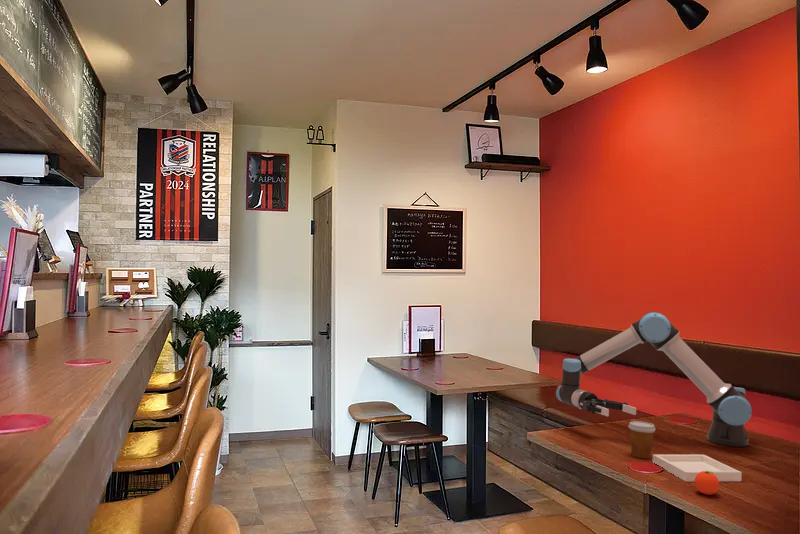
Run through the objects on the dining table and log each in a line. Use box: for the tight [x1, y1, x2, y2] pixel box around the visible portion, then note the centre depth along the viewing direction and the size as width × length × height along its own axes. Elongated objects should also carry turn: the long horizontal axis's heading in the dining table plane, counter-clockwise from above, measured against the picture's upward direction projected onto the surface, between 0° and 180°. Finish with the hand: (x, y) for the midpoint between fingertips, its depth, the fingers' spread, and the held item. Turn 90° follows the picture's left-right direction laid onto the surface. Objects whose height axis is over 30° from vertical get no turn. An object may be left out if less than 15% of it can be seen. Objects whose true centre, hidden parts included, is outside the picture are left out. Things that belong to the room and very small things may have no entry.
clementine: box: [694, 471, 720, 496], centre depth 194 cm, size 8×7×7 cm
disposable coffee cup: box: [628, 420, 657, 459], centre depth 232 cm, size 10×10×12 cm
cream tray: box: [651, 454, 742, 483], centre depth 216 cm, size 20×20×3 cm
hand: (621, 412), depth 241 cm, fingers open, 13 cm apart
